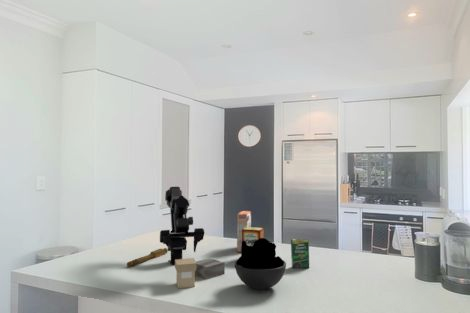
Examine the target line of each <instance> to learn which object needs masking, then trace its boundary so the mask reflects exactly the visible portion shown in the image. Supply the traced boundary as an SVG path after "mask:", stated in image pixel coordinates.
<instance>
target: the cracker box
mask: <svg viewBox="0 0 470 313" xmlns="http://www.w3.org/2000/svg"><path fill="white" fill-rule="evenodd" d="M236 222H237V223H236V225H237V226H236V227H237V228H236V230H237V231H236V232H237V234H236V240H237V241H236V245H237V246H236V252H237V253H242V252H241V247H242V229H243V228H245V227H252V211H250V210H242V211H240V212H238V213H237V221H236Z"/></svg>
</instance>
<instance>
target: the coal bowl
mask: <svg viewBox="0 0 470 313" xmlns="http://www.w3.org/2000/svg"><path fill="white" fill-rule="evenodd" d="M276 249H277V244H276V243H274V242H271V241H270V240H268V239H266V238H265V237H264V238H260V239H258V240H257V241H254V244H253V246H248V245H246V242H245V241H244V240H243V241H242V247H241V252H240V254H241V255H240V256H239V257H238V258H237V259H236V260H235V261H234V269H235V272H236V274H237V277H238V278H239V280H240V281H241V282H242V283H243V284H244V285H246V286H247V287H249V288H251V289H254V290H259V291H260V290H262V291H263V290H267V289H270V288H273V287H275V286H276V285H277V284H278V283H279V282H280V281H281V280H282V279H283V276H284V275H285V272H286V268H287V262H286V261H285V260H283V259H282V257H280V256H276V255H277V253H276Z"/></svg>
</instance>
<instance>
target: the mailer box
mask: <svg viewBox="0 0 470 313" xmlns="http://www.w3.org/2000/svg"><path fill="white" fill-rule="evenodd" d="M195 276H196V275H195V271H189V272H178V273H177V272H176V286H177V288H178V289H185V288H186V289H189V288H194V287H195V280H196V279H195Z"/></svg>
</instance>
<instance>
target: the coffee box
mask: <svg viewBox="0 0 470 313" xmlns="http://www.w3.org/2000/svg"><path fill="white" fill-rule="evenodd" d="M290 252H291V253H290V254H291V255H290V256H291V258H290V259H291V268H292V269H310V244H309V239H308V238H296V239H294V238H293V239H291V240H290Z"/></svg>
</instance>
